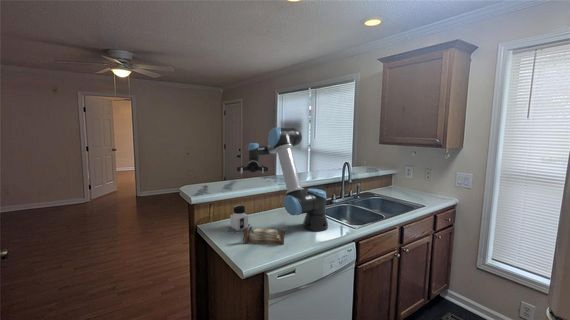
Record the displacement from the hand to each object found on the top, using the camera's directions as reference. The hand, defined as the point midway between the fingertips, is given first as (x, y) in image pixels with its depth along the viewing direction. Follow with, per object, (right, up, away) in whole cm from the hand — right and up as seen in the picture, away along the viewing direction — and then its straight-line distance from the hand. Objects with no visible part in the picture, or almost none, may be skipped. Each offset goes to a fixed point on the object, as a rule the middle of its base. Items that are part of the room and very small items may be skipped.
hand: (252, 171), depth 167 cm
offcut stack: (+10, -35, -26) cm, 44 cm away
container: (-7, -33, -9) cm, 35 cm away
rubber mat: (-7, -34, -9) cm, 35 cm away
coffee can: (+46, -29, +30) cm, 62 cm away
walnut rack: (+10, -35, -21) cm, 42 cm away
